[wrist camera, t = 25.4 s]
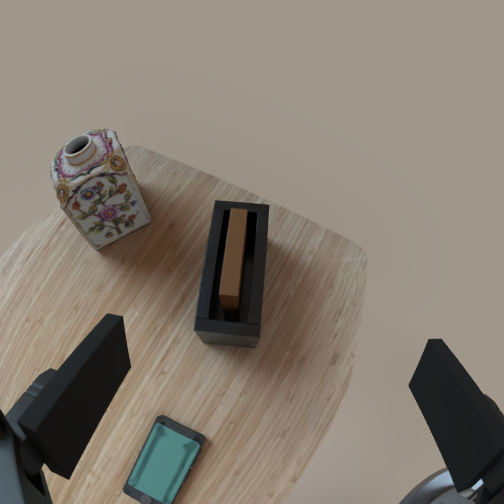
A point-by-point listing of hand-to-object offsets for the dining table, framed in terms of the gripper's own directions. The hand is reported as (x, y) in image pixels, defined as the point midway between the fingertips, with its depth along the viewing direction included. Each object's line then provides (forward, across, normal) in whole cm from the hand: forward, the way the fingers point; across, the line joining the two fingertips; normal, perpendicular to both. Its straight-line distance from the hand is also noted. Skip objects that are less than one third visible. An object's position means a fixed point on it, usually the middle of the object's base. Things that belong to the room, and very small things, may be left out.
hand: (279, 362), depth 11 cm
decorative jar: (+39, -28, -3) cm, 48 cm away
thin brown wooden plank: (+31, -4, -11) cm, 33 cm away
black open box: (+31, -4, -11) cm, 34 cm away
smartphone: (+11, -12, -32) cm, 36 cm away
